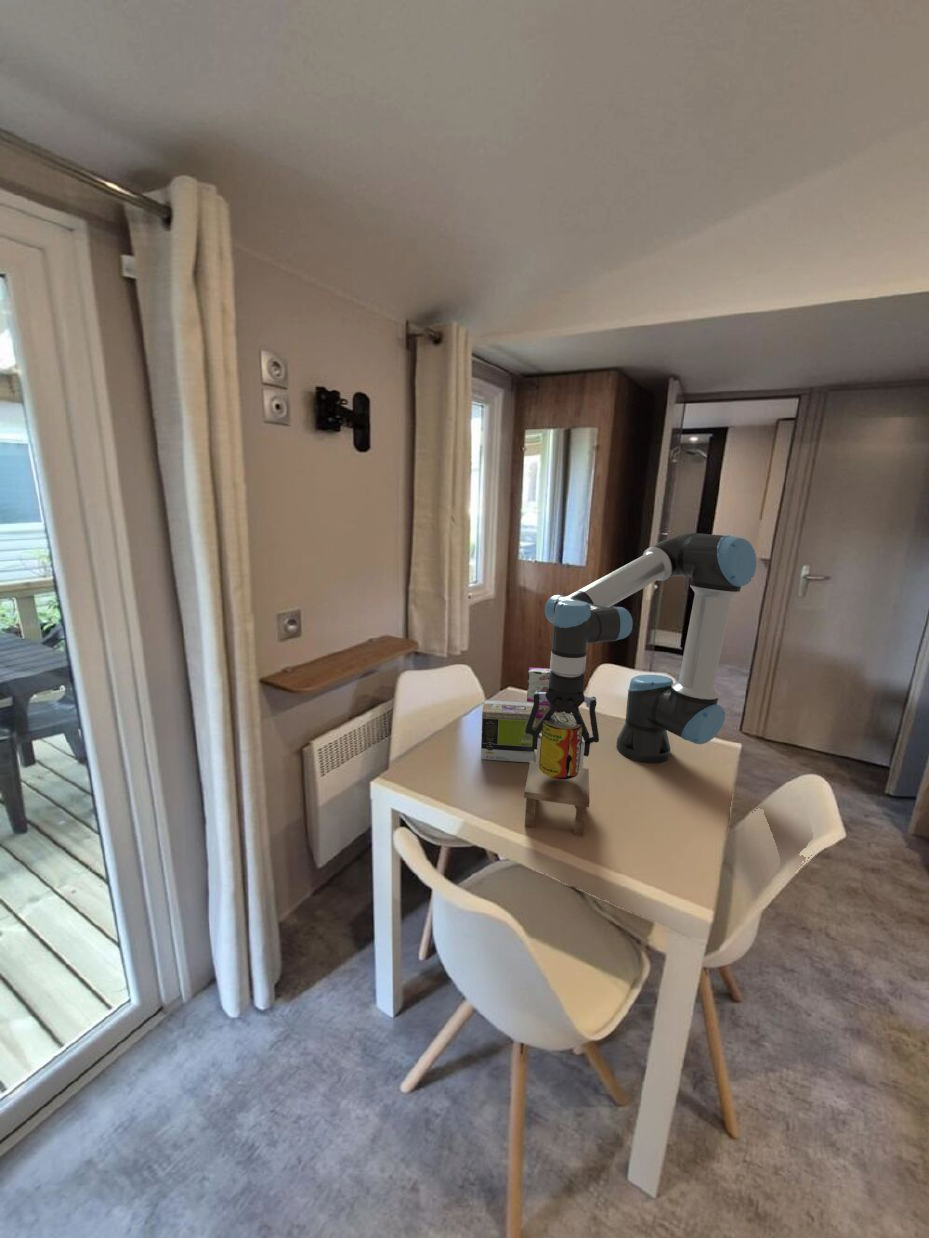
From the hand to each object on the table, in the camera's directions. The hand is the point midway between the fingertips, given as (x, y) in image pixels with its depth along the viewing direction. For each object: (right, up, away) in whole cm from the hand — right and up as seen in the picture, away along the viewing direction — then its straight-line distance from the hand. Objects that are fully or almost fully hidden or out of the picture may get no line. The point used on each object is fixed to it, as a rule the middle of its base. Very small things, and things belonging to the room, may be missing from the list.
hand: (559, 764), depth 117 cm
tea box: (-9, -6, +31) cm, 33 cm away
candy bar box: (+5, 0, +58) cm, 58 cm away
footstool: (0, -12, +3) cm, 13 cm away
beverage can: (0, -1, 0) cm, 1 cm away
